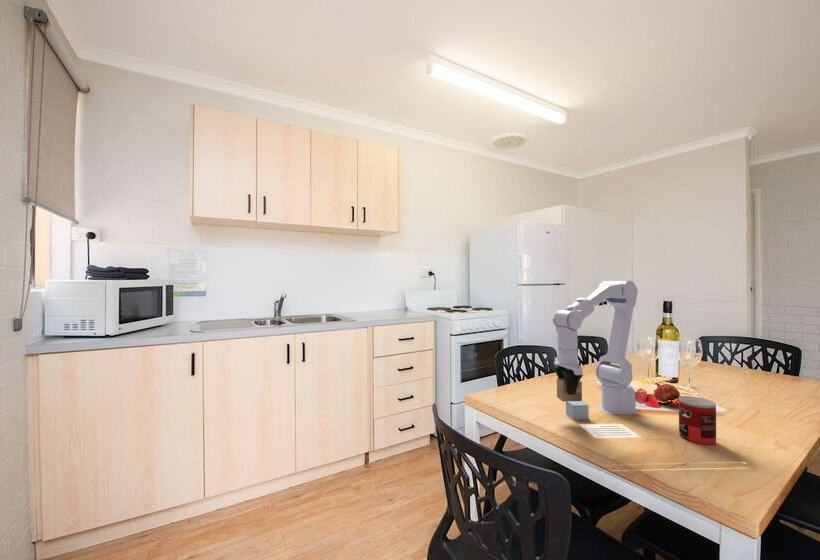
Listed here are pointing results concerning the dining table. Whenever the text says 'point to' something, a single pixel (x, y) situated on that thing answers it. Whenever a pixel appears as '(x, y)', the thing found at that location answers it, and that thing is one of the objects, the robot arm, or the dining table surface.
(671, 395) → the pomegranate
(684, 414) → the canned food
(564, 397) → the walnut block
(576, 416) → the cube
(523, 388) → the dining table surface
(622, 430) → the letter
